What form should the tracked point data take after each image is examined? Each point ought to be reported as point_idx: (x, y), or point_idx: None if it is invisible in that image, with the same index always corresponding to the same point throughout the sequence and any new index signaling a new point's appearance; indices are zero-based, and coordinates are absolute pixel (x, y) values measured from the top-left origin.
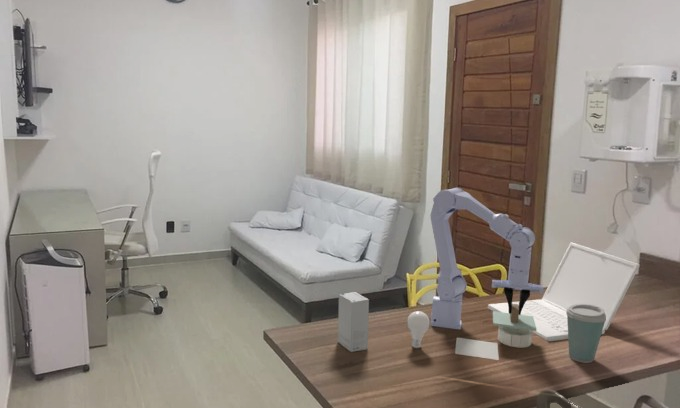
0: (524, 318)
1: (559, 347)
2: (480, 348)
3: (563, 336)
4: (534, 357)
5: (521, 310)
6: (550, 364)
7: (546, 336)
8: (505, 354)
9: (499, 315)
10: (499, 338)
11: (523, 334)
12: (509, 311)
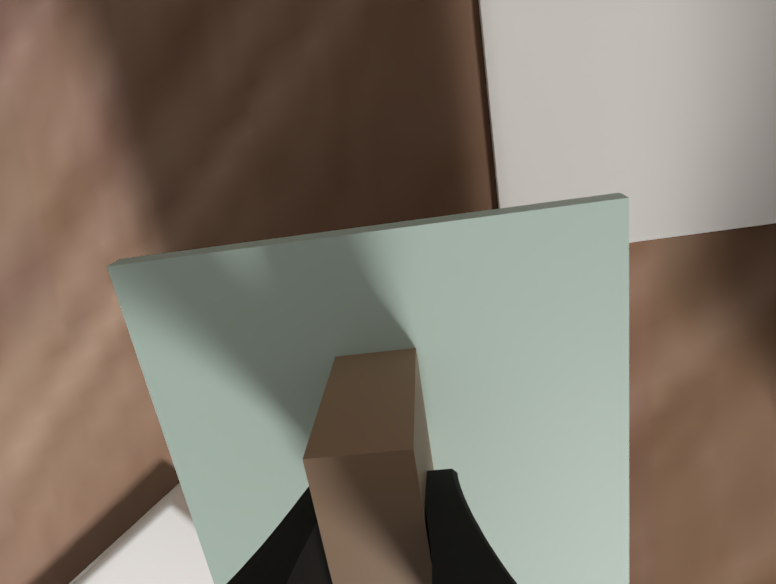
0: None
1: (87, 422)
2: (646, 61)
3: (84, 575)
4: (204, 150)
5: (285, 517)
6: (73, 73)
7: (171, 511)
8: (423, 87)
9: (554, 513)
10: None
11: None
12: (451, 481)
